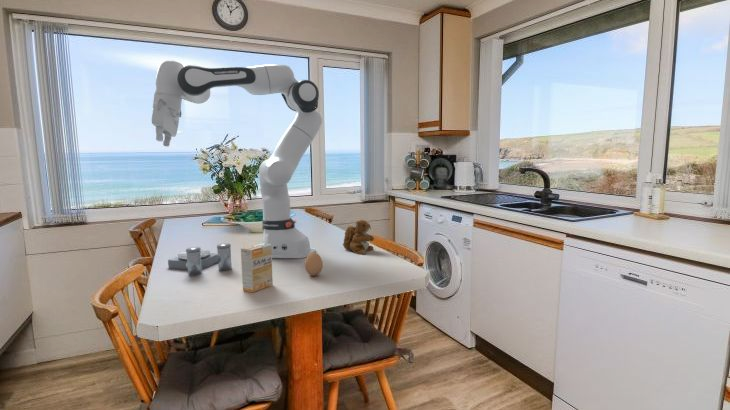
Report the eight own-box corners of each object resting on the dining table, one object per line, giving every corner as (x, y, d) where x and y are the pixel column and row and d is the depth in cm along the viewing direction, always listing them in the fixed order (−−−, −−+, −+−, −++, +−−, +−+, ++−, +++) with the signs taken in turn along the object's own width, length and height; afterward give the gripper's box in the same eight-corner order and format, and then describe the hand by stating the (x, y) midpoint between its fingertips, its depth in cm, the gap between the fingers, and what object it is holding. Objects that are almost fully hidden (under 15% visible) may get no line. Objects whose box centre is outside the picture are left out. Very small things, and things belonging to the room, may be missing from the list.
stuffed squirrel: (365, 255, 154) (364, 223, 152) (336, 251, 161) (335, 220, 159) (377, 249, 162) (377, 219, 160) (349, 246, 169) (349, 216, 168)
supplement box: (253, 293, 113) (251, 249, 111) (242, 290, 115) (239, 247, 113) (273, 285, 120) (271, 244, 118) (262, 282, 122) (260, 242, 120)
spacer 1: (205, 272, 134) (203, 247, 132) (196, 276, 129) (194, 250, 128) (194, 271, 135) (192, 246, 134) (184, 275, 130) (182, 249, 129)
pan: (216, 252, 146) (216, 250, 146) (196, 260, 136) (196, 257, 136) (192, 251, 150) (192, 248, 149) (171, 258, 139) (170, 256, 139)
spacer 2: (234, 267, 138) (233, 243, 137) (226, 271, 134) (225, 246, 133) (223, 267, 140) (222, 243, 138) (215, 270, 135) (213, 245, 134)
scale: (220, 261, 147) (219, 252, 147) (197, 270, 135) (196, 261, 135) (191, 259, 151) (191, 250, 150) (167, 268, 139) (166, 259, 138)
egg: (301, 275, 129) (301, 252, 128) (317, 271, 132) (316, 249, 131) (310, 279, 124) (309, 255, 123) (326, 275, 128) (325, 252, 127)
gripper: (169, 98, 128) (165, 138, 127) (182, 114, 148) (178, 149, 147) (149, 95, 126) (144, 136, 126) (164, 112, 146) (160, 147, 145)
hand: (162, 143), depth 136 cm, fingers open, 8 cm apart
